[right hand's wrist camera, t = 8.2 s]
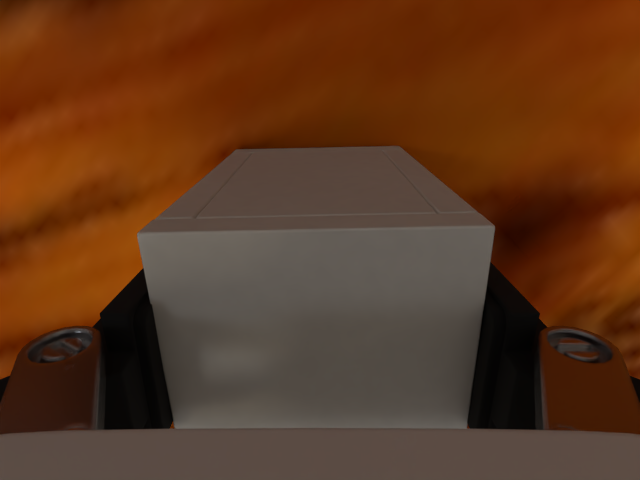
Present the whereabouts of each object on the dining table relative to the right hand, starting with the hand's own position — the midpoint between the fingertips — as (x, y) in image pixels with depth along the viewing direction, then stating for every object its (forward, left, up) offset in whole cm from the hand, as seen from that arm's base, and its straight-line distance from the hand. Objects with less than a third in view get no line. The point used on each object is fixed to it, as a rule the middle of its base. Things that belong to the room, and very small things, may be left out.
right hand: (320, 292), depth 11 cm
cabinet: (+4, +4, -6) cm, 8 cm away
